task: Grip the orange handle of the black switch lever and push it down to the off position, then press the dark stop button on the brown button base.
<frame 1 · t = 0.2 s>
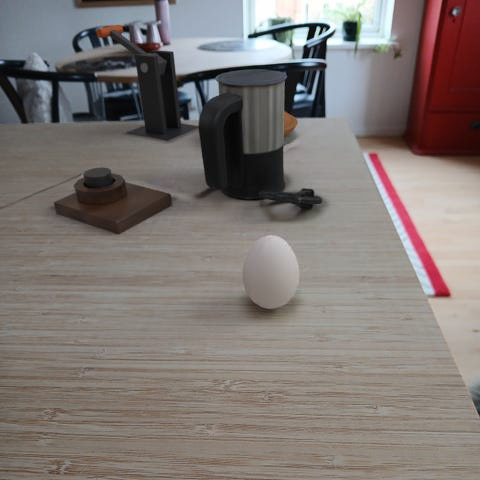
egg: (271, 306, 50), on the table
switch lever: (133, 48, 89), point 14 cm above the table, hinge at 25.0°
stop button: (98, 178, 68), point 4 cm above the table, slide at 0.1 cm
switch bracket: (164, 135, 95), on the table
pie: (252, 144, 90), on the table
brown button base: (114, 209, 69), on the table
milk frother: (270, 198, 71), on the table
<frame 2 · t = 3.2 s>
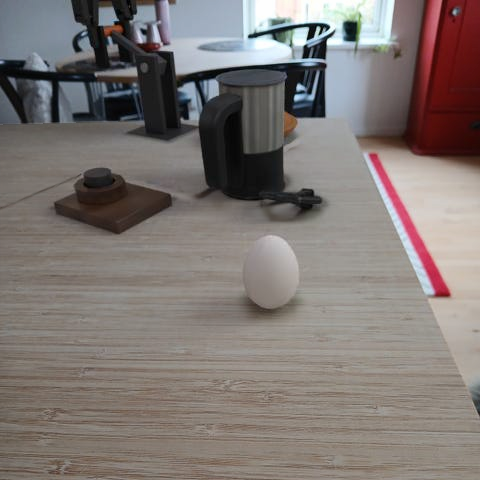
hand: (115, 64, 93), 11 cm above the table, tool pointing down, fingers closed on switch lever, 5 cm apart
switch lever: (133, 48, 89), point 14 cm above the table, hinge at 25.0°, touching gripper
everything else where it was.
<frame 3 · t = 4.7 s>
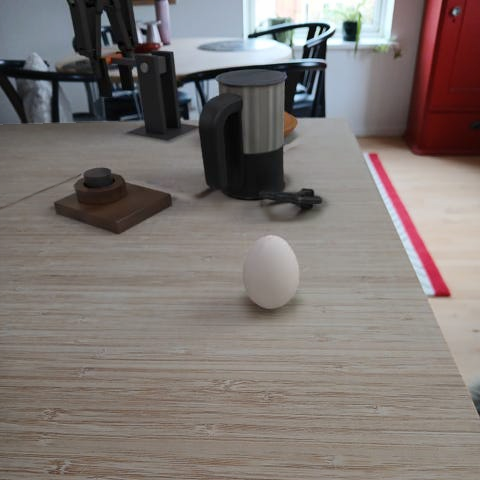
hand: (117, 93, 96), 6 cm above the table, tool pointing down, fingers closed on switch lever, 5 cm apart
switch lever: (133, 62, 90), point 12 cm above the table, hinge at 0.3°, touching gripper
everything else where it was.
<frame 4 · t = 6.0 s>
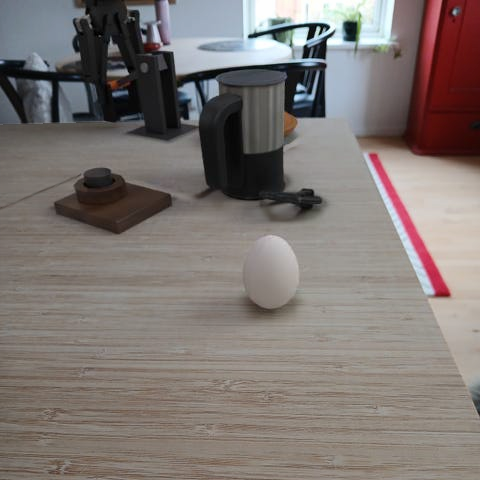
hand: (124, 116, 98), 2 cm above the table, tool pointing down, fingers open, 6 cm apart
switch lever: (137, 74, 91), point 10 cm above the table, hinge at -21.1°
everything else where it was.
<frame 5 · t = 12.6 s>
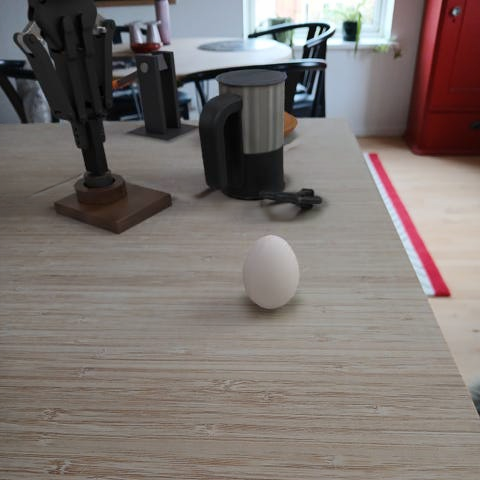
hand: (97, 170, 67), 5 cm above the table, tool pointing down, fingers closed
stop button: (98, 178, 68), point 4 cm above the table, slide at 0.1 cm, touching gripper
everything else where it was.
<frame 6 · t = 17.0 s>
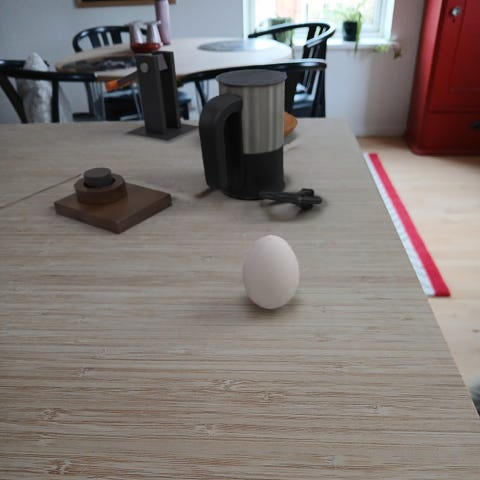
stop button: (98, 178, 68), point 4 cm above the table, slide at 0.1 cm
everything else where it was.
at the end: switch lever at -21° (first picture: +25°); stop button pushed in 1.0 cm at the most during the clip, back to where it started at the end; stop button slide at 0.1 cm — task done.
